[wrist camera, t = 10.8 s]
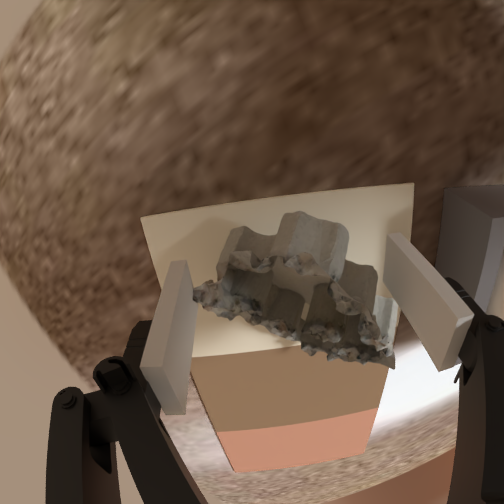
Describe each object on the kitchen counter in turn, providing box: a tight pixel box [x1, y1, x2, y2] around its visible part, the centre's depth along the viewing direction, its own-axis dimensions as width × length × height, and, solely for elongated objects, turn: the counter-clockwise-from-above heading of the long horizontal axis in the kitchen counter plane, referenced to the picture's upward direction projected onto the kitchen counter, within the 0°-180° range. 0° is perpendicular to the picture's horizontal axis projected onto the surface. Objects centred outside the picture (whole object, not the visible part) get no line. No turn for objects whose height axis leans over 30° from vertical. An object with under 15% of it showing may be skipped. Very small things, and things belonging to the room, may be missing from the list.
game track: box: [140, 183, 414, 472], centre depth 25 cm, size 33×16×1 cm, turn 7°
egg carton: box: [193, 211, 398, 369], centre depth 16 cm, size 11×8×4 cm
